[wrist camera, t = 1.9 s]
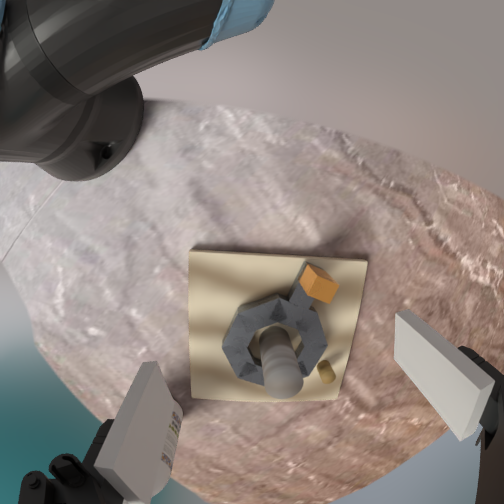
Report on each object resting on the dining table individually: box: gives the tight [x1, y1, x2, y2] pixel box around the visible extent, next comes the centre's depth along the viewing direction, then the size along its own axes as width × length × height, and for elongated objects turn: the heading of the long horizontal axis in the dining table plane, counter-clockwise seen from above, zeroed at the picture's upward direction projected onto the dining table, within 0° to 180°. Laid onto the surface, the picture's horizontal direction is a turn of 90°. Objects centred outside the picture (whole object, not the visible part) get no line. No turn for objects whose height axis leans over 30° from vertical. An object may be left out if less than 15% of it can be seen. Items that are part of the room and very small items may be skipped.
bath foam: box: [123, 399, 183, 504], centre depth 27 cm, size 7×7×20 cm
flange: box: [222, 261, 339, 386], centre depth 30 cm, size 16×11×6 cm
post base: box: [189, 249, 368, 402], centre depth 29 cm, size 20×20×10 cm
